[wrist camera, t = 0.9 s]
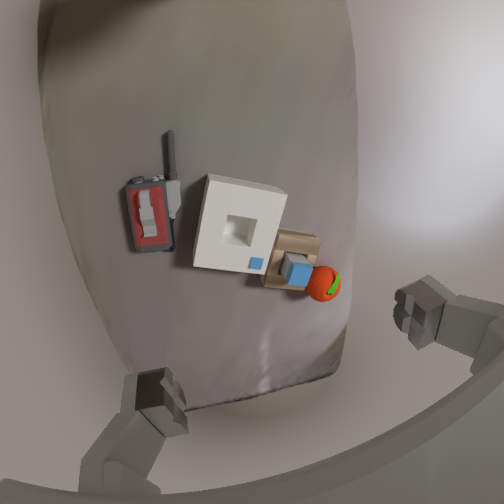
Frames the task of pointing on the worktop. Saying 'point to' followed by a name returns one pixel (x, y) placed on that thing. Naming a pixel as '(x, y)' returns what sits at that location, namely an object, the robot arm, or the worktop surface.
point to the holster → (289, 243)
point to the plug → (295, 269)
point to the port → (237, 225)
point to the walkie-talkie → (154, 207)
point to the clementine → (323, 283)
